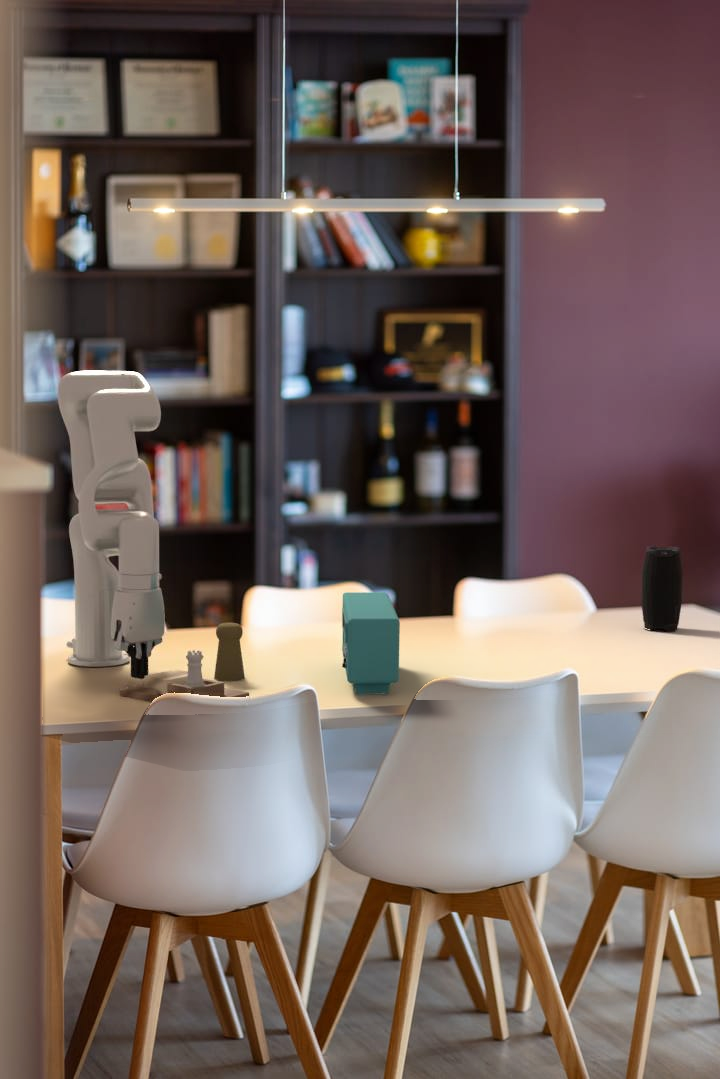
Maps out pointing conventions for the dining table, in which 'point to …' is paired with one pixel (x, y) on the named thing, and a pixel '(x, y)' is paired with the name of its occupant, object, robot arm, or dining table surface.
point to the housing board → (181, 691)
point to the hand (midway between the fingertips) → (139, 677)
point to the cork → (229, 653)
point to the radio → (370, 642)
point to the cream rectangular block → (165, 680)
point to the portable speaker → (662, 588)
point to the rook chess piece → (194, 669)
